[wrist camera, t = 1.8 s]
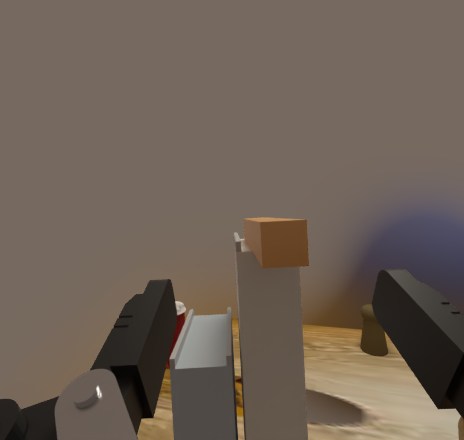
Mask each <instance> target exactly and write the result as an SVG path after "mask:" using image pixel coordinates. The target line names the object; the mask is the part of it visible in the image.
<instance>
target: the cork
mask: <svg viewBox="0 0 464 440" xmlns="http://www.w3.org/2000/svg"><path fill="white" fill-rule="evenodd" d="M361 315H362V317H363V328H362V338H361V349H362V350H363V351H364V352H365V353H368V354H370V355H374V356H384V355H386V354H388V349H387V344H386V339H385V333H384V329H383V328H382V326H381V325H380V323H379V322H378V320H377V319H376V317H375V315H374V312H373V308H372V305H370V304H368V305H364V306H363V307H362V308H361Z"/></svg>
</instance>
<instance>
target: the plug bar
mask: <svg viewBox="0 0 464 440" xmlns="http://www.w3.org/2000/svg"><path fill="white" fill-rule="evenodd" d="M244 236H245V241H246V242H247V244H248V246H249V247H250V249H251V251H252V252H253V254H254V255H255V257H256V259H257V260H258V262H259V264H260V265H261V267H262V268H280V267H298V266H309V260H308V239H307V220H304V219H284V218H265V217H264V218H246V219H244Z"/></svg>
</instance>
